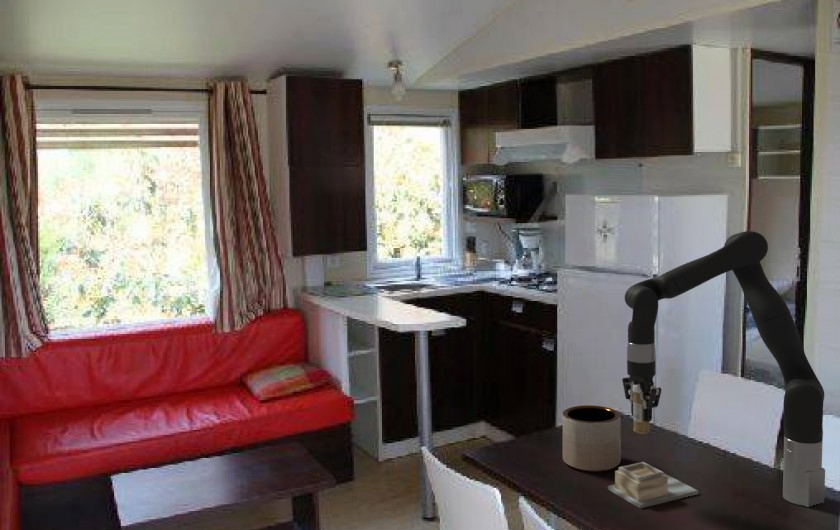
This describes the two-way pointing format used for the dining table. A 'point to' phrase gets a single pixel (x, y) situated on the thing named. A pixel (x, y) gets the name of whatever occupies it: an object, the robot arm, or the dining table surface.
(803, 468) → the robot arm
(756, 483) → the dining table surface
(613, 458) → the planter
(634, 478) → the build base
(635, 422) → the sprinkles bottle
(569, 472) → the dining table surface
